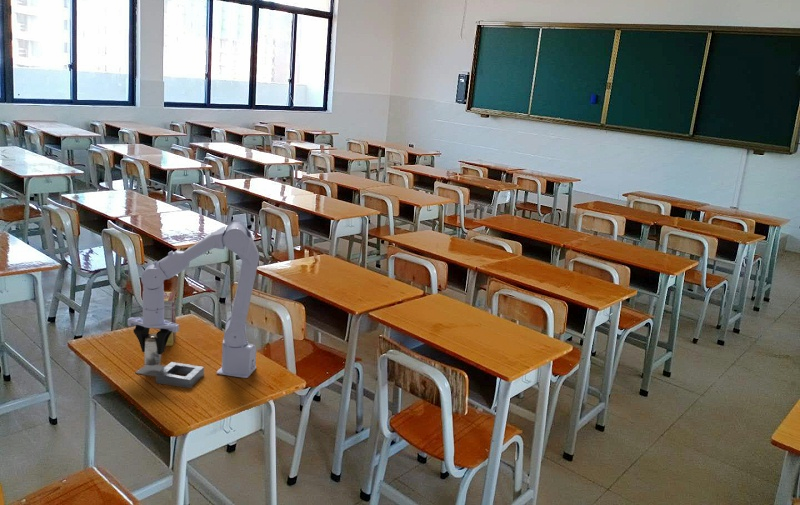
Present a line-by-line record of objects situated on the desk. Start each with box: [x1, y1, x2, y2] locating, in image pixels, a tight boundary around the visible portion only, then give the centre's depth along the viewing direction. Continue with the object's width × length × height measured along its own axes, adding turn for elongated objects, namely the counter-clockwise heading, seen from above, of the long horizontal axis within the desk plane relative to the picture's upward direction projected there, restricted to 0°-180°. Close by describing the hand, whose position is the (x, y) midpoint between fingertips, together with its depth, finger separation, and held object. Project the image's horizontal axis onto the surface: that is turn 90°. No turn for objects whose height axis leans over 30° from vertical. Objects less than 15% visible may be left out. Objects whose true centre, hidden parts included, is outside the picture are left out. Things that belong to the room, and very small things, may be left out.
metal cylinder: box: [144, 332, 162, 366], centre depth 187 cm, size 4×4×8 cm
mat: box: [135, 364, 167, 378], centre depth 189 cm, size 7×7×1 cm
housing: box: [155, 361, 205, 389], centre depth 185 cm, size 10×9×2 cm
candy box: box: [158, 291, 177, 347], centre depth 209 cm, size 9×4×15 cm, turn 11°
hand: (153, 351), depth 188 cm, fingers closed on metal cylinder, 4 cm apart
